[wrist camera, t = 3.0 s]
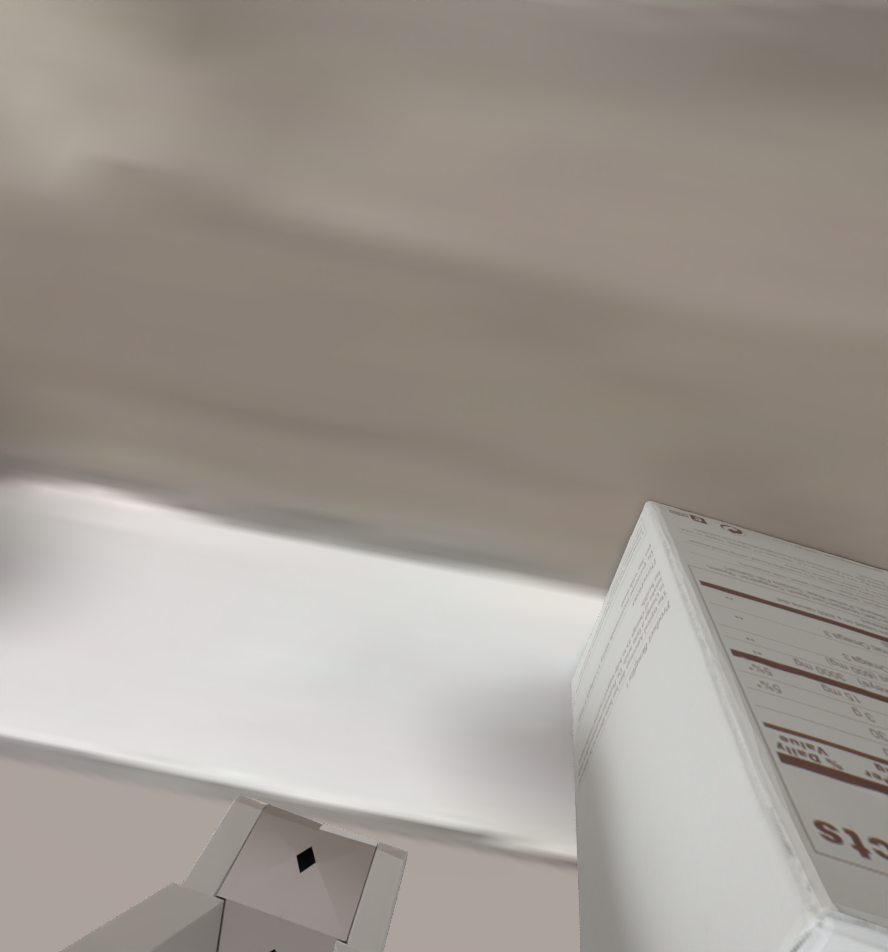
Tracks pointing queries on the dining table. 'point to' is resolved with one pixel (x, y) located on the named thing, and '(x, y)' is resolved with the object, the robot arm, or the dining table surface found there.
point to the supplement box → (733, 747)
